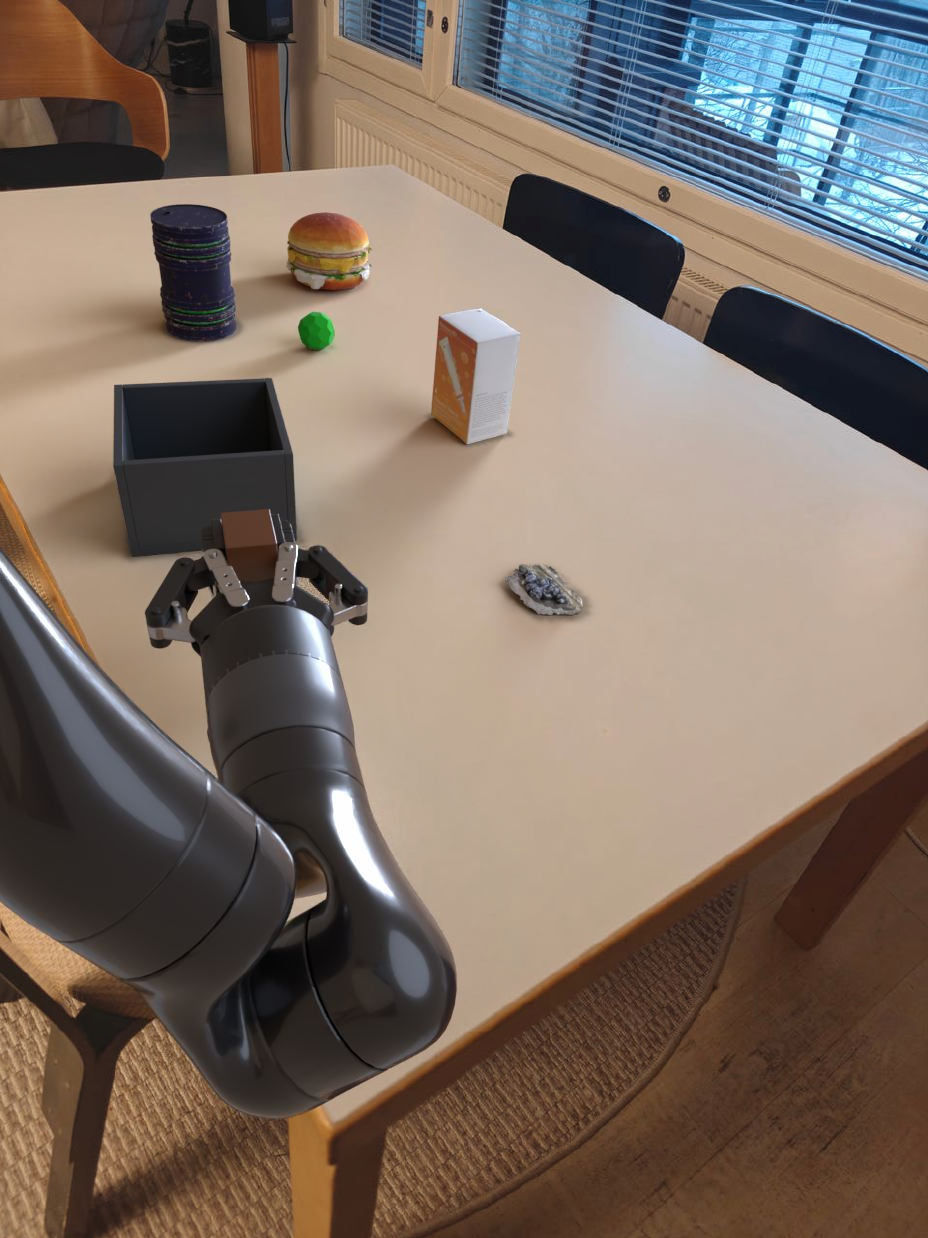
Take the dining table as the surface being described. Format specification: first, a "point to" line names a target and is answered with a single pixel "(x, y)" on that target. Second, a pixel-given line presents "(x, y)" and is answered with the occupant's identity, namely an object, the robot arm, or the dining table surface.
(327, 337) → the polyhedron
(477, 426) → the small box
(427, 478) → the dining table surface
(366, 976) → the robot arm
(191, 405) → the waste bin
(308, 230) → the burger
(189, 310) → the navy striped cylinder
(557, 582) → the grey flat lumpy piece
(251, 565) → the chocolate carton
